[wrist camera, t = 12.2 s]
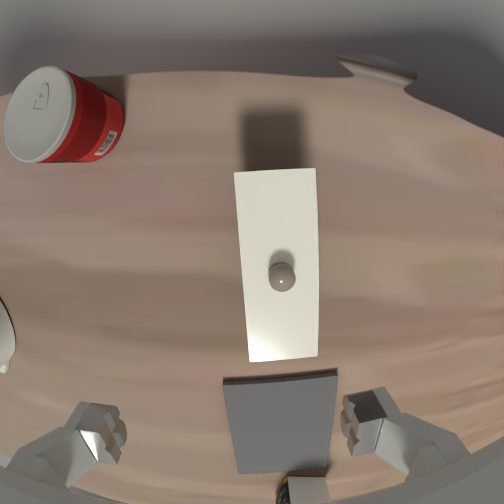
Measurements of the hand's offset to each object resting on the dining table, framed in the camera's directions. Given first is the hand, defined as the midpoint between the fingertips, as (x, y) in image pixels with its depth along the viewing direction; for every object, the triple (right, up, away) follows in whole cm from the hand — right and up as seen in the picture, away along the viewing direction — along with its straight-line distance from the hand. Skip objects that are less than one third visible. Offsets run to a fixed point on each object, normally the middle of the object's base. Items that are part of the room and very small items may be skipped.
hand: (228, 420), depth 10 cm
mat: (+5, -19, +28) cm, 35 cm away
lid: (+3, +5, +17) cm, 18 cm away
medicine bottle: (+9, -35, +33) cm, 49 cm away
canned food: (-16, +19, +19) cm, 31 cm away
